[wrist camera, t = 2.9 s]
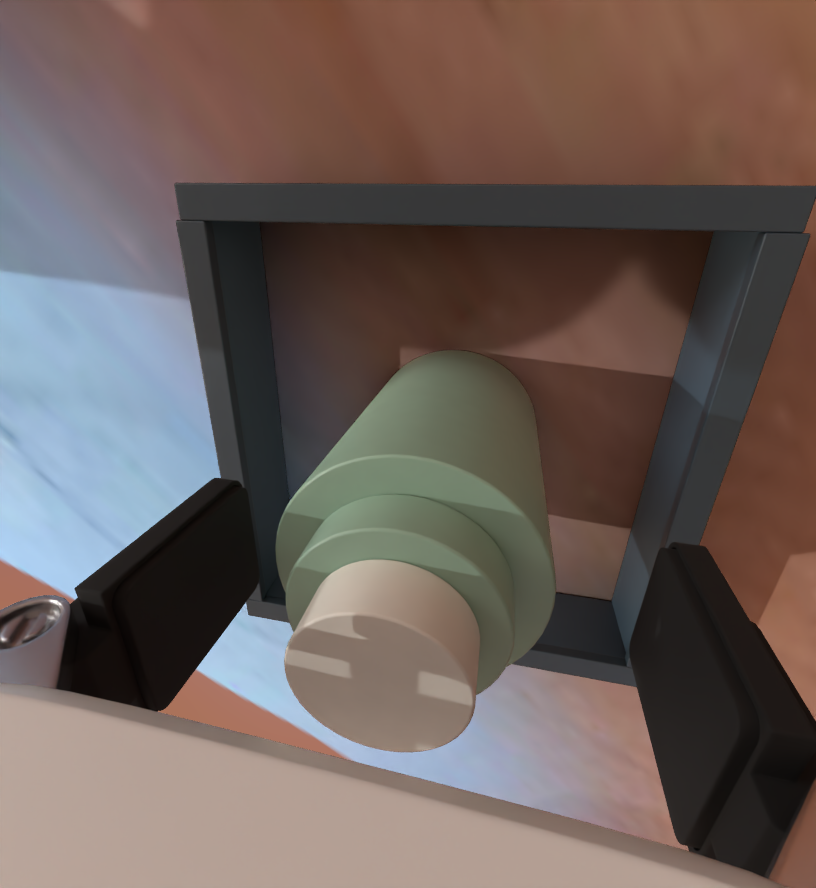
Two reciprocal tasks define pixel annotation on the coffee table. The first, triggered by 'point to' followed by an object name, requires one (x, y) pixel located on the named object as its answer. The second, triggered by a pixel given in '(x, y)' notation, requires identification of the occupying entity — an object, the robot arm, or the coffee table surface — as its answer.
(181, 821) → the robot arm
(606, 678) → the rectangular frame
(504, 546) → the detergent bottle
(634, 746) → the coffee table surface
